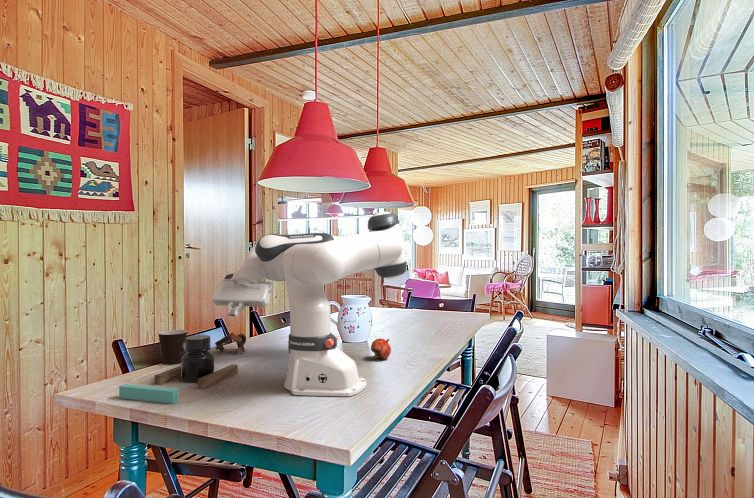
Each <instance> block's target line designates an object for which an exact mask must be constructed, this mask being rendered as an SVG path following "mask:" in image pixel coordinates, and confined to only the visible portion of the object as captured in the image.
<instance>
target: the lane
mask: <svg viewBox="0 0 754 498" xmlns="http://www.w3.org/2000/svg"><path fill="white" fill-rule="evenodd" d="M238 373H239V365H238V364H230V365H227V366H226V367H223V368H221V369H218V370H214V372H213V373H211V374H209V375H206V376H204V377H202V378H199V379H198V382H197V389H198V390H199V389H200V390H205V389H207V388H210V387H212V386H214V385H215V384H218V383H220V382H223V381H224V380H226V379H228V378H231V377H232V376H235V375H237V374H238ZM178 378H179V379H180V378H181V365H179V366H177V367H173V368H170V369H167V370H165V371H162V372H160V373H157V374H155V375H154V385H159V386H161V385H164V384H166V383H169V382H172V381H174V380H175V379H178Z"/></svg>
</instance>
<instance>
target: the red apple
mask: <svg viewBox="0 0 754 498" xmlns="http://www.w3.org/2000/svg"><path fill="white" fill-rule="evenodd" d="M389 341H390V339H389V338H387V340H386V339H385V338H376V339H375V340H372V343H371V346H370V351H371V352H372V353H374V355H373V356H372V357H371V358H370V359H369V361H372V360H373V359H374V358H375V357H376V358H377V359H381V360H386V359H387V358H389V357H390V356H391V353H392V347H391V345H390V344H389Z"/></svg>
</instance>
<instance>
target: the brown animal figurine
mask: <svg viewBox="0 0 754 498" xmlns="http://www.w3.org/2000/svg"><path fill="white" fill-rule="evenodd" d="M231 340H232V341H233V342H234V343H236V345H237V348H236V349H235V351H236V352H237V355H238V354H240V355H242V354H243V353H244V352H245V351H246V350H245V347H244V346H245V344H246V342H247V336H246V335H245V334H244V333H239V334H237V335H236V334H235V333H234V332H230V333H228V334H227V335H225V336H224V337H222V338H221V339H219V340H217V341H215V342H214V344H215V350H216V351H217V350H219V351H220V352H224V350H225V347H224V345H231V344H232V343H231Z"/></svg>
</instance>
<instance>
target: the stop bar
mask: <svg viewBox="0 0 754 498" xmlns="http://www.w3.org/2000/svg"><path fill="white" fill-rule="evenodd" d="M118 391H119V393H118V398H119V399H122V400H123V399H126V400H133V401H142V402H153V403H161V404H168V405H169V404H170V405H173V404H176V403H178V402H179V388H169V387H162V386H161V387H160V386H151V385H141V384H140V385H139V384H132V383H124V384H122V385H119V386H118Z"/></svg>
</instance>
